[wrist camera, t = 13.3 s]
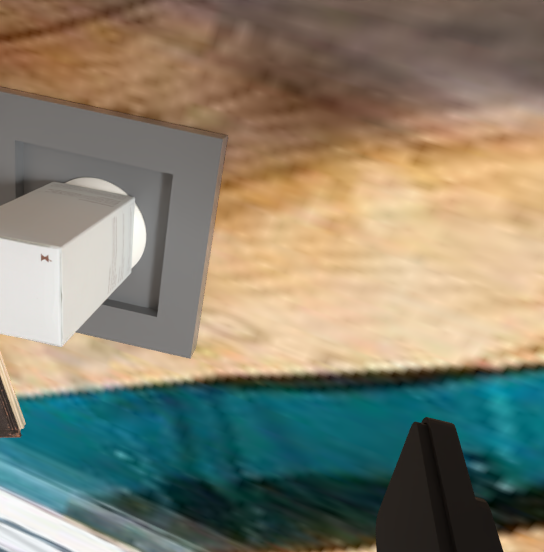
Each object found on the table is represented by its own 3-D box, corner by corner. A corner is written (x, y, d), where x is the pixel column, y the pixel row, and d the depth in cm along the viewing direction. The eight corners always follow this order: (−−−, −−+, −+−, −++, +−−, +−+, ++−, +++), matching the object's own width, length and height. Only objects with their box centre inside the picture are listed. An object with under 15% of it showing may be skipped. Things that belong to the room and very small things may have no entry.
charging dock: (227, 135, 41) (222, 139, 39) (195, 347, 49) (190, 358, 47) (-14, 83, 42) (-30, 85, 40) (-6, 301, 50) (-19, 310, 48)
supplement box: (51, 178, 43) (-53, 223, 32) (138, 196, 43) (64, 247, 31) (51, 259, 46) (-44, 327, 35) (132, 276, 46) (63, 350, 34)
